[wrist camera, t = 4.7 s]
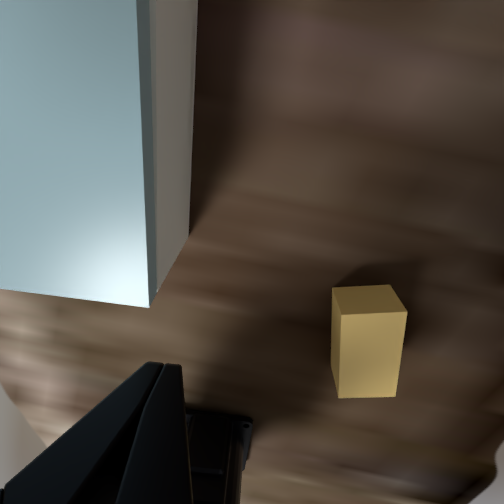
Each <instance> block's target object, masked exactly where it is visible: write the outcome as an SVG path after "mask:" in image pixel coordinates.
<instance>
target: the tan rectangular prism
mask: <svg viewBox="0 0 504 504" xmlns="http://www.w3.org/2000/svg"><path fill="white" fill-rule="evenodd" d="M406 319H407V310H406V309H405V307H404V306H403V304H402V303H401V301H400V299H399V298H398V296H397V295H396V293H395V292H394V290H393V289H392V287H391V286H390V285H372V286H353V287H334V288H332V323H331V369H332V373H333V377H334V381H335V386H336V390H337V394H338V398H364V397H395V395H396V388H397V381H398V374H399V367H400V360H401V353H402V347H403V340H404V333H405V326H406Z"/></svg>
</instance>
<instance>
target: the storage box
mask: <svg viewBox="0 0 504 504" xmlns="http://www.w3.org/2000/svg"><path fill="white" fill-rule="evenodd" d="M149 12H150V50H151V88H152V126H153V164H154V202H155V240H156V278H157V291H158V290H159V288H160V286H161V285H162V283H163V281H164V279H165V278H166V276H167V274H168V272H169V270H170V269H171V267H172V265H173V263H174V262H175V260H176V258H177V256H178V254H179V253H180V251H181V249H182V247H183V246H184V244H185V242H186V240H187V239H188V237H189V212H190V187H191V162H192V138H193V113H194V88H195V63H196V38H197V14H198V0H149Z"/></svg>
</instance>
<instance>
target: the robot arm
mask: <svg viewBox="0 0 504 504" xmlns="http://www.w3.org/2000/svg"><path fill="white" fill-rule="evenodd" d="M252 427H253V420H252V419H251V418H249V417H242V416H234V415H226V414H218V413H210V412H202V411H194V410H186V409H185V400H184V388H183V376H182V367H181V365H179V364H169V363H166V364H165V365H164V364H163V363H159V362H146V363H145V364H144V365H143V366H141V367H140V368H139V369H138V370H137V371H136V372H134V373H133V374H132V375H131V376H130V377H129V378H127V379H126V380H125V381H124V382H123V383H122V384H121V385H119V386H118V387H117V388H116V389H115V390H114V391H112V392H111V393H110V394H109V395H108V396H107V397H106V398H104V399H103V400H102V401H101V402H100V403H99V404H97V405H96V406H95V407H94V408H93V409H92V410H91V411H89V412H88V413H87V414H86V415H85V416H84V417H82V418H81V419H80V420H79V421H78V422H77V423H76V424H74V425H73V426H72V427H71V428H70V429H69V430H67V431H66V432H65V433H64V434H63V435H62V436H61V437H59V438H58V439H57V440H56V441H55V442H54V443H52V444H51V445H50V446H49V447H48V448H47V449H46V450H44V451H43V452H42V453H41V454H40V455H39V456H37V457H36V458H35V459H34V460H33V461H32V462H31V463H29V464H28V465H27V466H26V467H25V468H24V469H22V470H21V471H20V472H19V473H18V474H17V475H16V476H14V477H13V478H12V479H11V480H10V481H9V482H7V483H6V484H5V486H4V489H0V504H240V493H241V479H242V471H243V470H244V469H245V464H246V459H247V454H248V448H249V443H250V438H251V433H252Z"/></svg>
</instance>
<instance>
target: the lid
mask: <svg viewBox="0 0 504 504" xmlns="http://www.w3.org/2000/svg"><path fill="white" fill-rule="evenodd" d="M0 289H7V290H15V291H23V292H31V293H39V294H46V295H54V296H62V297H70V298H77V299H85V300H93V301H101V302H108V303H116V304H124V305H132V306H139V307H147V308H149V307H150V305H151V303H152V301H153V299H154V297H155V295H156V294H157V278H156V240H155V202H154V164H153V126H152V88H151V50H150V12H149V0H0Z"/></svg>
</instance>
